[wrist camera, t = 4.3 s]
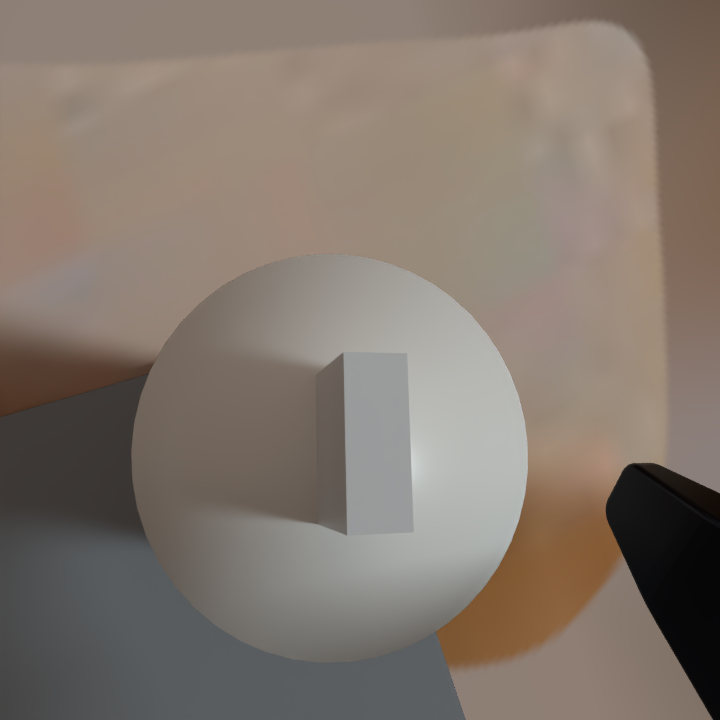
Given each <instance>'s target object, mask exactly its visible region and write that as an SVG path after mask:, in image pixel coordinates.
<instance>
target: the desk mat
mask: <svg viewBox="0 0 720 720" xmlns="http://www.w3.org/2000/svg"><path fill="white" fill-rule="evenodd" d="M148 375H149V374H147V375H143V376H140V377H137V378H133V379H130V380H126V381H123V382H119V383H116V384H113V385H109V386H106V387H102V388H99V389H95V390H92V391H89V392H85V393H82V394H78V395H75V396H71V397H68V398H65V399H61V400H58V401H54V402H51V403H47V404H44V405H41V406H37V407H34V408H30V409H27V410H23V411H20V412H17V413H13V414H10V415H6V416H3V417H0V720H466V719H465V717H464V714H463V711H462V708H461V705H460V702H459V699H458V696H457V693H456V690H455V687H454V684H453V681H452V678H451V675H450V672H449V669H448V666H447V663H446V660H445V657H444V655H443V652H442V649H441V646H440V643H439V640H438V637H437V634H436V631H435V632H433V633H432V634H430V635H429V636H427V637H426V638H424V639H422V640H420V641H418V642H416V643H414V644H411V645H409V646H407V647H405V648H403V649H401V650H398V651H395V652H392V653H388V654H385V655H382V656H379V657H376V658H370V659H364V660H358V661H352V662H335V663H318V662H310V661H301V660H293V659H290V658H286V657H282V656H278V655H275V654H271V653H267V652H265V651H262V650H260V649H258V648H255V647H253V646H251V645H248V644H246V643H244V642H241V641H240V640H238V639H236V638H235V637H233V636H231V635H230V634H228V633H227V632H225V631H223V630H222V629H220V628H218V627H217V626H215V625H214V624H213V623H212V622H211V621H209V620H208V619H207V618H206V617H205V616H203V615H202V614H201V613H200V612H199V611H197V610H196V609H195V608H194V607H193V606H192V605H191V604H190V603H189V601H188V600H187V599H186V598H185V597H184V596H183V595H182V594H181V593H180V591H179V590H178V589H177V588H176V587H175V586H174V584H173V583H172V581H171V580H170V578H169V577H168V575H167V574H166V572H165V571H164V569H163V568H162V566H161V565H160V563H159V562H158V560H157V558H156V555H155V553H154V551H153V549H152V547H151V545H150V543H149V541H148V539H147V537H146V534H145V531H144V528H143V525H142V522H141V519H140V515H139V512H138V509H137V504H136V498H135V493H134V487H133V481H132V458H131V449H132V439H133V429H134V421H135V417H136V413H137V409H138V404H139V400H140V396H141V393H142V391H143V388H144V385H145V383H146V380H147V378H148Z"/></svg>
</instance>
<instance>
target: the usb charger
mask: <svg viewBox="0 0 720 720" xmlns="http://www.w3.org/2000/svg"><path fill="white" fill-rule="evenodd" d="M131 458H132V481H133V487H134V493H135V498H136V504H137V509H138V512H139V515H140V519H141V522H142V525H143V528H144V531H145V534H146V537H147V539H148V541H149V543H150V545H151V547H152V549H153V551H154V553H155V555H156V558H157V560H158V562H159V563H160V565H161V566H162V568H163V569H164V571H165V572H166V574H167V575H168V577H169V578H170V580H171V581H172V583H173V584H174V586H175V587H176V588H177V589H178V590H179V591H180V593H181V594H182V595H183V596H184V597H185V598H186V599H187V600H188V601H189V603H190V604H191V605H192V606H193V607H194V608H195V609H196V610H197V611H199V612H200V613H201V614H202V615H203V616H205V617H206V618H207V619H208V620H209V621H211V622H212V623H213V624H214V625H215V626H217V627H218V628H220V629H222V630H223V631H225V632H227V633H228V634H230V635H231V636H233V637H235V638H236V639H238V640H240V641H241V642H244V643H246V644H248V645H251V646H253V647H255V648H258V649H260V650H262V651H265V652H267V653H271V654H275V655H278V656H282V657H286V658H290V659H293V660H301V661H310V662H318V663H335V662H352V661H358V660H364V659H370V658H376V657H379V656H382V655H385V654H388V653H392V652H395V651H398V650H401V649H403V648H405V647H407V646H409V645H411V644H414V643H416V642H418V641H420V640H422V639H424V638H426V637H427V636H429V635H430V634H432V633H433V632H435V631H437V630H438V629H440V628H441V627H443V626H444V625H446V624H447V623H448V622H449V621H451V620H452V619H453V618H454V617H455V616H456V615H458V614H459V613H460V612H461V611H462V610H463V609H465V608H466V607H467V606H468V605H469V604H470V602H471V601H472V600H473V599H474V598H475V597H476V596H477V595H478V593H479V592H480V591H481V590H482V589H483V588H484V587H485V585H486V584H487V582H488V581H489V579H490V578H491V576H492V575H493V573H494V572H495V571H496V569H497V568H498V566H499V564H500V562H501V560H502V558H503V557H504V555H505V553H506V551H507V549H508V547H509V545H510V543H511V540H512V537H513V535H514V532H515V529H516V527H517V524H518V521H519V518H520V514H521V509H522V505H523V501H524V497H525V490H526V481H527V472H528V444H527V436H526V428H525V420H524V416H523V412H522V408H521V404H520V400H519V396H518V394H517V391H516V388H515V386H514V383H513V380H512V378H511V375H510V373H509V371H508V369H507V367H506V365H505V363H504V361H503V359H502V357H501V355H500V353H499V352H498V350H497V349H496V347H495V346H494V344H493V343H492V341H491V340H490V338H489V337H488V335H487V334H486V332H485V331H484V330H483V329H482V328H481V326H480V325H479V324H478V323H477V322H476V321H475V319H474V318H473V317H472V316H471V315H470V314H469V313H468V312H467V311H466V310H465V309H464V308H463V307H462V306H461V305H459V304H458V303H457V302H456V301H455V300H454V299H453V298H452V297H450V296H449V295H448V294H446V293H445V292H443V291H442V290H441V289H439V288H438V287H436V286H435V285H433V284H432V283H430V282H428V281H427V280H425V279H423V278H421V277H419V276H417V275H415V274H414V273H412V272H410V271H407V270H405V269H402V268H399V267H397V266H394V265H392V264H389V263H386V262H382V261H378V260H374V259H370V258H366V257H359V256H351V255H343V254H314V255H307V256H300V257H293V258H288V259H284V260H281V261H277V262H273V263H270V264H266V265H264V266H261V267H259V268H257V269H254V270H252V271H249V272H247V273H245V274H242V275H241V276H239V277H237V278H236V279H234V280H232V281H230V282H229V283H227V284H225V285H224V286H222V287H220V288H219V289H218V290H216V291H215V292H214V293H213V294H211V295H210V296H209V297H207V298H206V299H205V300H204V301H202V302H201V303H200V304H199V305H198V306H197V307H196V308H195V309H194V310H193V311H192V312H191V313H190V314H189V315H188V316H187V317H186V318H185V319H184V320H183V321H182V322H181V323H180V324H179V326H178V327H177V328H176V330H175V331H174V333H173V334H172V335H171V337H170V338H169V339H168V341H167V342H166V343H165V345H164V346H163V348H162V350H161V352H160V354H159V355H158V357H157V359H156V361H155V363H154V364H153V366H152V368H151V370H150V373H149V375H148V378H147V380H146V383H145V385H144V388H143V391H142V393H141V396H140V400H139V404H138V409H137V413H136V417H135V421H134V429H133V439H132V449H131Z"/></svg>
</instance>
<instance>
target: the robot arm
mask: <svg viewBox="0 0 720 720" xmlns="http://www.w3.org/2000/svg"><path fill="white" fill-rule="evenodd" d="M606 516H607V520H608V523H609V525H610V527H611V530H612V532H613V534H614V536H615V538H616V541H617V543H618V545H619V547H620V549H621V551H622V554H623V556H624V558H625V560H626V562H627V565H628V566H629V569H630V571H631V573H632V576H633V578H634V580H635V582H636V584H637V586H638V589H639V591H640V593H641V595H642V597H643V599H644V601H645V603H646V605H647V607H648V609H649V610H650V612H651V614H652V616H653V618H654V620H655V621H656V623H657V625H658V627H659V628H660V630H661V632H662V633H663V635H664V637H665V639H666V640H667V642H668V644H669V645H670V647H671V649H672V650H673V652H674V654H675V656H676V657H677V659H678V661H679V663H680V664H681V666H682V668H683V669H684V671H685V673H686V675H687V676H688V678H689V680H690V681H691V683H692V685H693V687H694V688H695V690H696V692H697V693H698V695H699V697H700V698H701V700H702V702H703V703H704V705H705V707H706V709H707V711H708V712H709V714H710V716H711V717H712V719H713V720H720V493H718V492H716V491H714V490H712V489H710V488H707V487H705V486H703V485H701V484H699V483H696V482H695V481H692V480H690V479H688V478H686V477H684V476H682V475H680V474H677V473H675V472H673V471H671V470H669V469H667V468H665V467H662V466H660V465H658V464H654V463H633V464H629V465H628V466H627V467H625V468H624V470H623V471H622V473H621V475H620V477H619V479H618V481H617V483H616V485H615V487H614V489H613V491H612V492H611V494H610V496H609V498H608V500H607V503H606Z"/></svg>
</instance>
